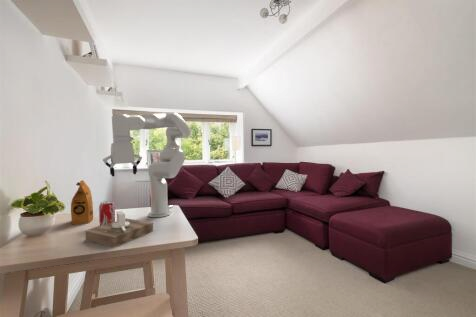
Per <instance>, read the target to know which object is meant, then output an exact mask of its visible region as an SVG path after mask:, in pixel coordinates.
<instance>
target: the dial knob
mask: <svg viewBox="0 0 476 317" xmlns="http://www.w3.org/2000/svg"><path fill="white" fill-rule="evenodd" d="M125 219H126V213H125V212H124V211H123V210H118V211H116V221H117V222H116V221H115V222H116V223H114V224H112V228H116V229H117V228H122V230H123V231H126V229H125V227H128V226H129V225H130V222H127V221H125Z"/></svg>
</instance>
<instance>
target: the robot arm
mask: <svg viewBox="0 0 476 317" xmlns="http://www.w3.org/2000/svg"><path fill="white" fill-rule="evenodd" d="M111 125H112V126H111V127H112V129H111V130H112V139H113V140H112V143H111V144H110V155H108V156H106V157H104V158H102V161H103V163H104V165H106V166H107V167H108V169H109V173H110V176H112V177H115V176H116V174H115V168H114V167H115V165H116V164H117V165H119V164H132V165H133V166H132V173H133V175H136V174H137V173H138V166H139V164H140V163H141V161H142V158H143V157H142V156H141V155H137V154H135V149H134V146H133V142H132V141H134V140H135V139H134V137H132V136H131V131H139V130H155V129H157V130H158V129H163V128H166V129H165V134H166V135H165V137H166V144H165V146H164V147H163V149H162V150H161V152H160V154H159V156H158V160H159V161H154V162H151V163H150V165H149V166H148V170H147V172H148V176H149V180H150V181H149V183H150V212H148V213H147V216H148V217H150V218H164V217H167V216H169V215H171V211H170V210H171V209H173V207H174V206H173V205H168V198H169V197H168V182H167V180H166V179H173V178H175V177H176V176H177V175H178V173H179V172H180V170H181V169H182V166H183V165H184V163H185V159H186V154H185V152H184V150H183V149H181V148H180V143H179V141H178V139H185V138H186V139H187V138H189V137H190V136H191V132H192V130H191V128H190V125H189V124H188V123H187V122H186V121H185V119H184V118H183V117H182V116H181V115H180V114H179V113H177V112H169V113H168V112H167V113H147V114H142V115H138V114H135V115H133V114H132V115H128V114H125V113H124V114H123V113H117V114H112V116H111ZM136 158H137V161H136ZM109 160H110V162H111V163H109V162H108V161H109Z"/></svg>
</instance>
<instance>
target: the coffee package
mask: <svg viewBox="0 0 476 317" xmlns="http://www.w3.org/2000/svg"><path fill="white" fill-rule="evenodd" d="M76 186H77V187H78V188H77V190H76V192H75V194H74V195H73V197H72V198H71V202H70V217H71V221H70V223H71V224H72V225H75V226H76V225H84V224H85V225H86V224H90V222H91V221H93V219H94V208H93V207H94V205H93V204H94V202H93V197H92V193H91V192H92V191H91V188H90V187H89V186H88V184H87V183H86V182H85V180H83V179H82V180H81V181H80V182H76Z"/></svg>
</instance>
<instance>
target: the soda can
mask: <svg viewBox="0 0 476 317" xmlns="http://www.w3.org/2000/svg"><path fill="white" fill-rule="evenodd" d="M98 219H99V221H98V222H99V227H100V226H103V225H106V224H109V223H113V222H116V206H115V203H114V201H113V200H107V201H106V200H105V201H101V202H100V204H99V206H98Z"/></svg>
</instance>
